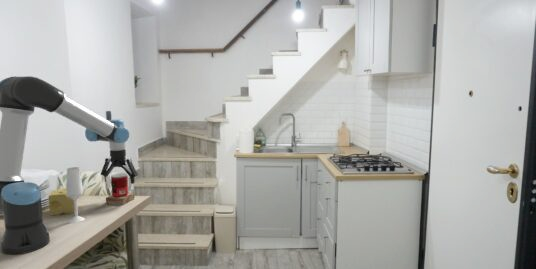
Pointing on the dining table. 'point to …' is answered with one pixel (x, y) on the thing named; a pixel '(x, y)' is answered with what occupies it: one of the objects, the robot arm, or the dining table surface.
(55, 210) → the cheese
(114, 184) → the canned food
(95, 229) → the dining table surface
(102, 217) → the dining table surface
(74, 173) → the champagne flute
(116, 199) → the plinth
